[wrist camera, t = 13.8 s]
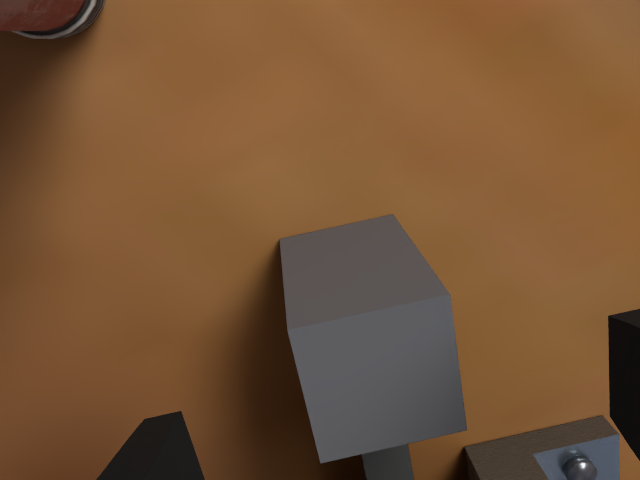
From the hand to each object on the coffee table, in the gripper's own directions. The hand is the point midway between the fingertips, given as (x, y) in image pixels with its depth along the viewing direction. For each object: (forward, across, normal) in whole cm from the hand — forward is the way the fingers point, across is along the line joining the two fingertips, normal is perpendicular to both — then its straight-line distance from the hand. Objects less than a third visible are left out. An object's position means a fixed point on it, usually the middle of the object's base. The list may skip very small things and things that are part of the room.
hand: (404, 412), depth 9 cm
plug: (+8, 0, +8) cm, 11 cm away
